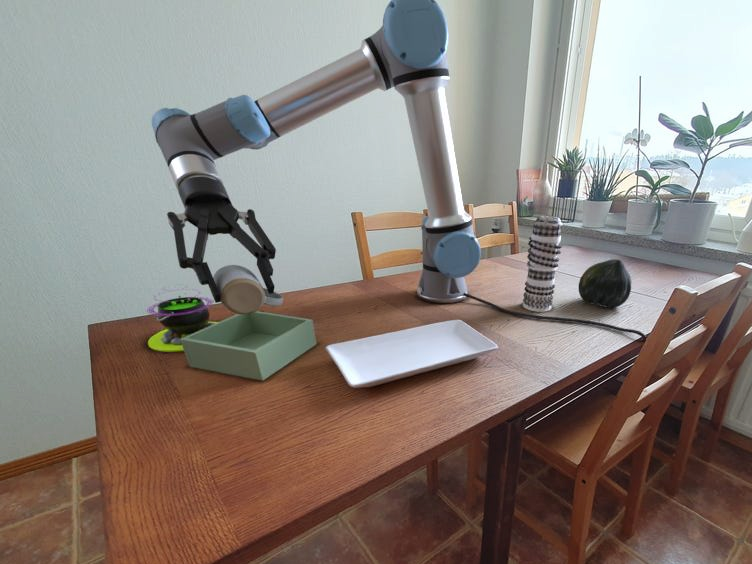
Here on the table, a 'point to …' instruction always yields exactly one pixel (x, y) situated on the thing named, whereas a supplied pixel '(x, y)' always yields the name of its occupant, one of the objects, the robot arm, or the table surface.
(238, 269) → the ceramic mug
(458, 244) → the robot arm
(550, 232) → the decorative candle
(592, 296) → the squash
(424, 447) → the table surface
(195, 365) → the bin
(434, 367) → the tray
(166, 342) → the toy cauldron
